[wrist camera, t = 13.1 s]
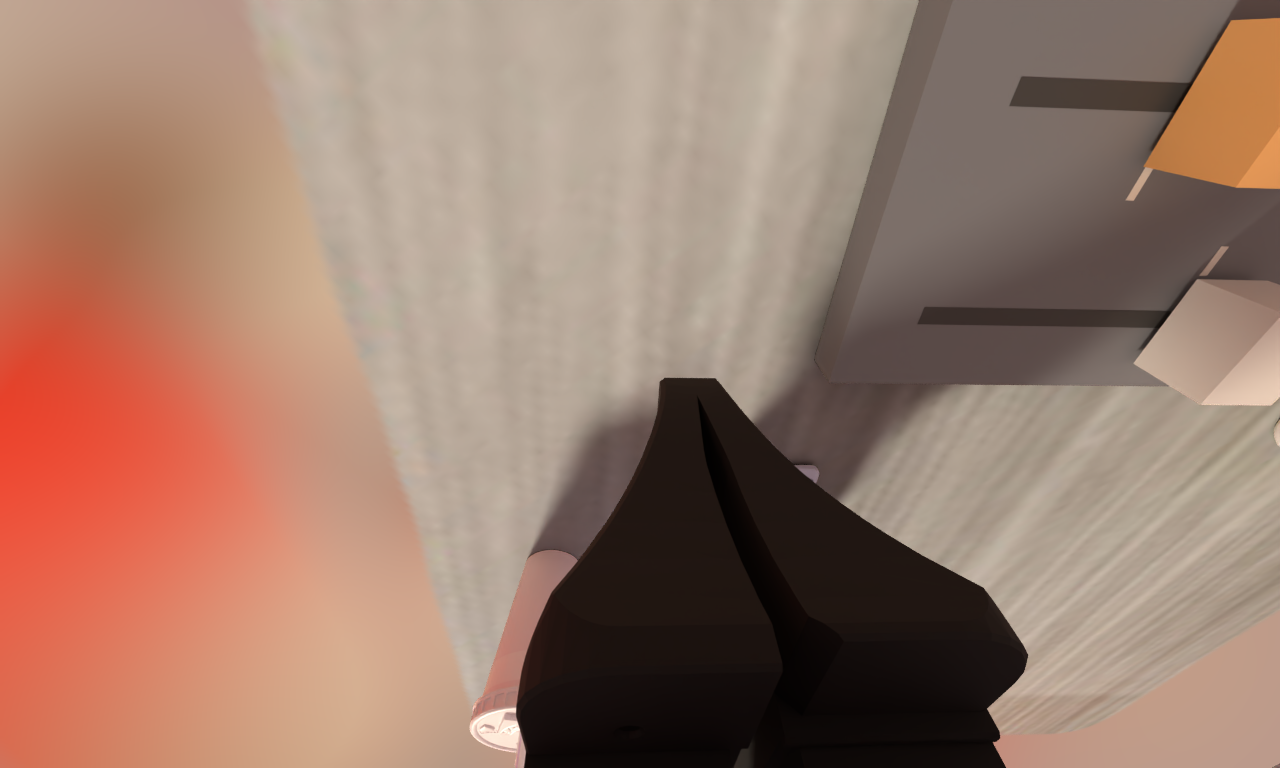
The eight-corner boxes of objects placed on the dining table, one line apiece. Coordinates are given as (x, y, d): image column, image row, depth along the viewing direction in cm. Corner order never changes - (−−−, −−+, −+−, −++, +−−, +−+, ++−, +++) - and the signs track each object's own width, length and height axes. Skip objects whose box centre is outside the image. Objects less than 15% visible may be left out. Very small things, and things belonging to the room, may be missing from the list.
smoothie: (570, 526, 30) (539, 817, 19) (615, 577, 34) (613, 851, 22) (486, 554, 31) (409, 842, 20) (537, 601, 35) (497, 869, 23)
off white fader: (1196, 364, 21) (1271, 405, 19) (1133, 363, 21) (1200, 404, 19) (1267, 280, 19) (1363, 315, 17) (1197, 279, 19) (1283, 313, 16)
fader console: (1196, 364, 24) (1238, 387, 23) (814, 359, 23) (828, 383, 22) (1521, -18, 16) (1626, -26, 14) (933, -49, 15) (973, -62, 13)
